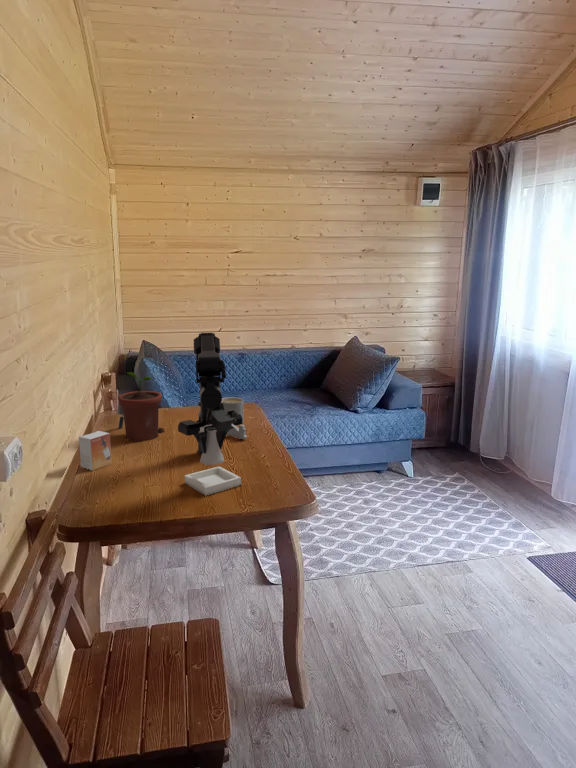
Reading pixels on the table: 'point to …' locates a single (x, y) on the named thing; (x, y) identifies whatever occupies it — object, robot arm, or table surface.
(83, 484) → the table surface
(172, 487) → the table surface
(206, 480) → the shaker caddy
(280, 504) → the table surface
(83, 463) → the small box
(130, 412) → the potted plant
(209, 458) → the flask
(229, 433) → the grey tape dispenser
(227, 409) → the coffee mug
